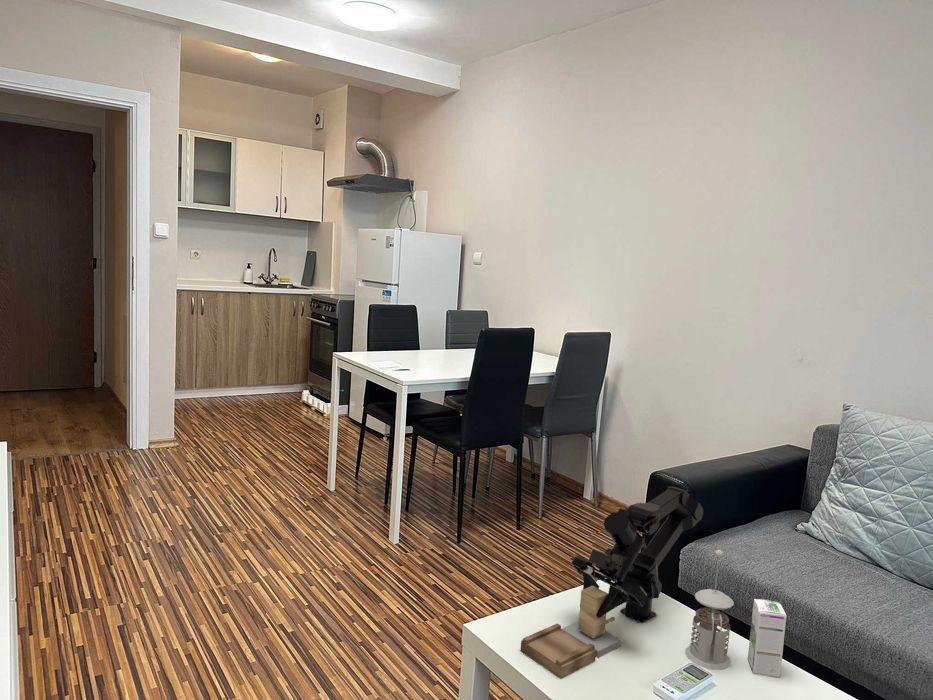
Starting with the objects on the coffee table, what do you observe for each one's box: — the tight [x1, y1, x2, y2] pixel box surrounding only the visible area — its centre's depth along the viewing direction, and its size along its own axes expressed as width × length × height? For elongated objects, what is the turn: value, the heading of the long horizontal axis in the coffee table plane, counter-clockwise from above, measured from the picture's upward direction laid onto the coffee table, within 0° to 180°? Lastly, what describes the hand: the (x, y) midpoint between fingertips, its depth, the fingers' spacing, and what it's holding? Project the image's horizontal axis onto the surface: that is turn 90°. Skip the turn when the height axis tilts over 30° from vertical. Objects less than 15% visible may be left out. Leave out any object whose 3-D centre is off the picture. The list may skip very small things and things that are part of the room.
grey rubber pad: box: [561, 620, 622, 658], centre depth 154 cm, size 8×11×2 cm
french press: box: [684, 549, 735, 671], centre depth 148 cm, size 10×12×25 cm
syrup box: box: [747, 598, 787, 678], centre depth 146 cm, size 6×6×14 cm
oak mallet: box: [578, 586, 616, 638], centre depth 155 cm, size 10×4×10 cm, turn 130°
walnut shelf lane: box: [520, 623, 597, 679], centre depth 147 cm, size 11×12×3 cm
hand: (589, 612), depth 152 cm, fingers closed on oak mallet, 4 cm apart
